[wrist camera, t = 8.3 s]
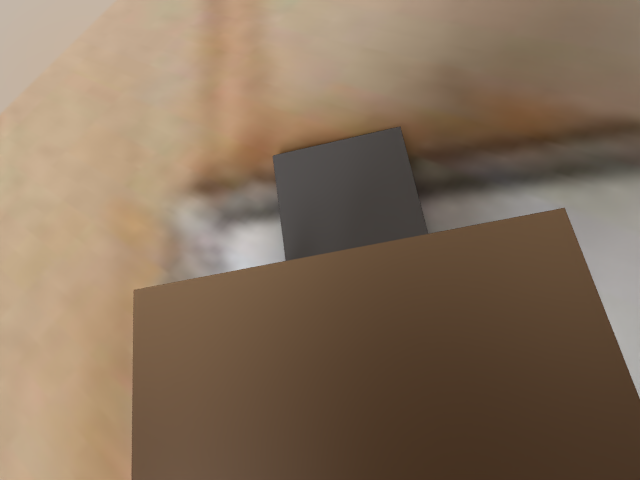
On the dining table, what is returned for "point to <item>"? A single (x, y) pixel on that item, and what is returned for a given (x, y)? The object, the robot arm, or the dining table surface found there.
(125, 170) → the dining table surface
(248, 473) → the walnut block
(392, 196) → the sleeve
